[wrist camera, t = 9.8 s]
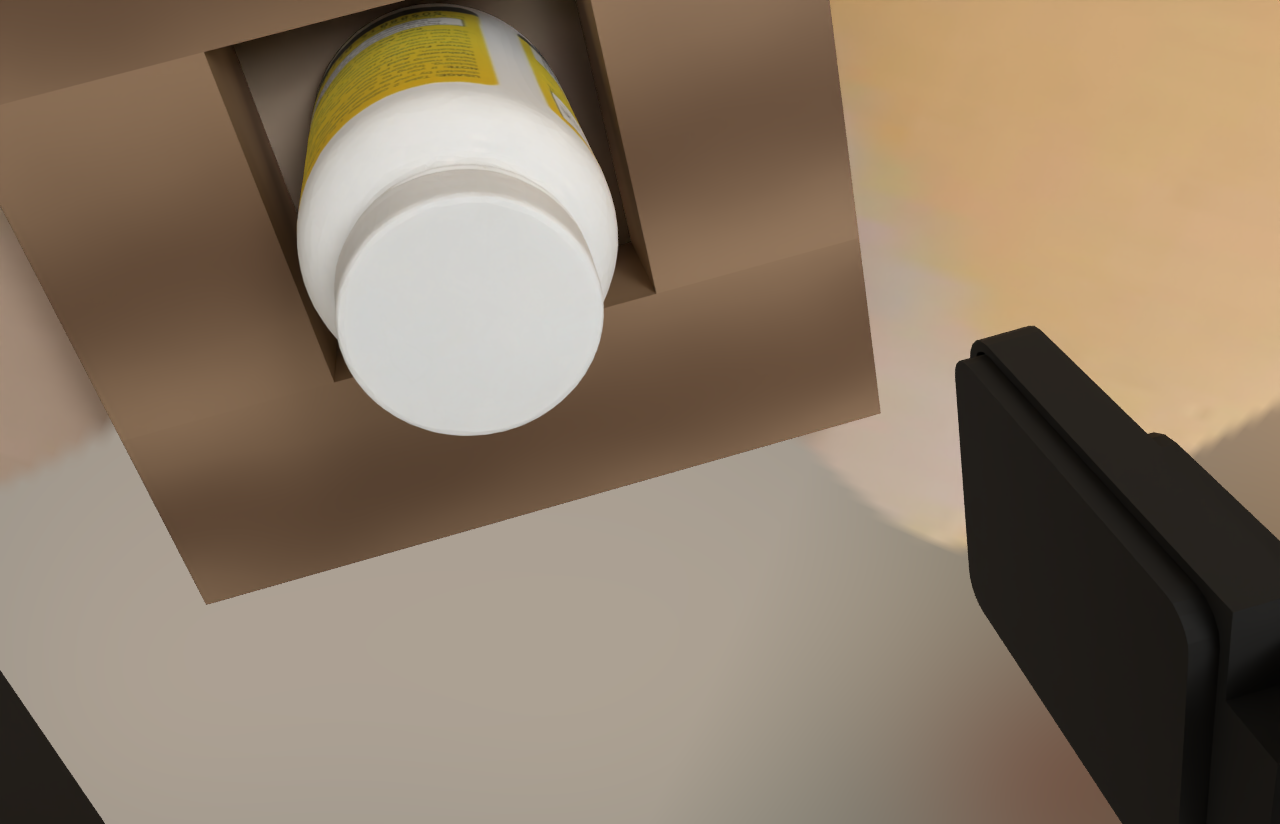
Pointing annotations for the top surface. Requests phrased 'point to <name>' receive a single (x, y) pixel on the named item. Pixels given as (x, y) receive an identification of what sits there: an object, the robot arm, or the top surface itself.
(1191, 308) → the top surface
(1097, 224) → the top surface
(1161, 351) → the top surface
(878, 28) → the top surface
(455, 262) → the supplement bottle
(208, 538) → the socket block
